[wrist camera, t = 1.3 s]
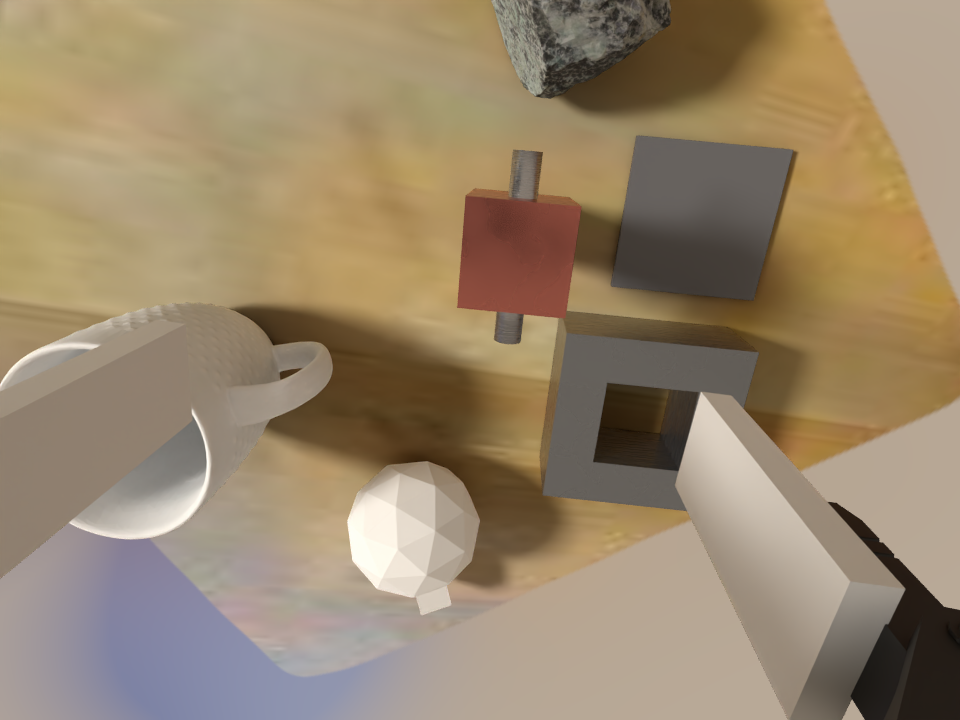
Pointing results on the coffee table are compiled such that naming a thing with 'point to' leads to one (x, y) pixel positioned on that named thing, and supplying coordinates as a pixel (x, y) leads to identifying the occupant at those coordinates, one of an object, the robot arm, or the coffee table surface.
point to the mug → (194, 411)
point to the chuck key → (518, 250)
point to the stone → (574, 37)
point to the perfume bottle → (413, 531)
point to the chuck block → (640, 362)
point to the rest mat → (698, 216)
